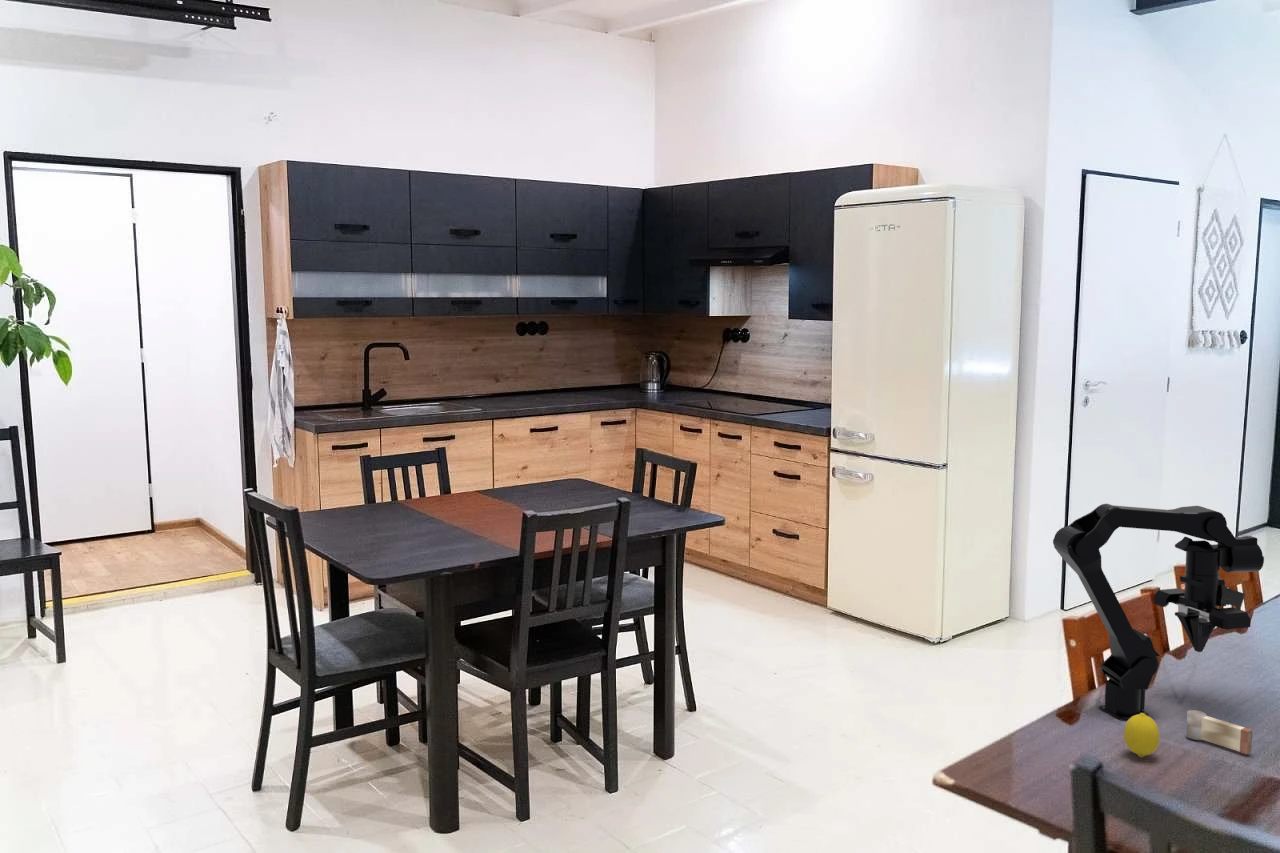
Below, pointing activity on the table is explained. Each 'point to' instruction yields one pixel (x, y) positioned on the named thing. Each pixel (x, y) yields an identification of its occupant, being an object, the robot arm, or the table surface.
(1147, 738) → the lemon
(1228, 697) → the table surface
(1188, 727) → the cream brown-tipped bar
